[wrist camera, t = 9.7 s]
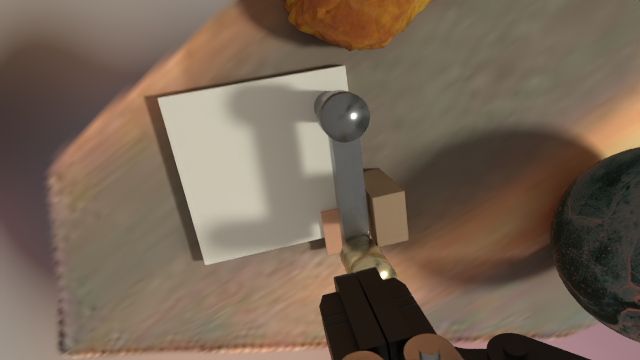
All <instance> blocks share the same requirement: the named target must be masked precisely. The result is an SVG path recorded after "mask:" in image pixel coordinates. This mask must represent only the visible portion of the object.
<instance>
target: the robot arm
mask: <svg viewBox="0 0 640 360" xmlns="http://www.w3.org/2000/svg"><path fill="white" fill-rule="evenodd" d="M334 284H335V289H336V292H334V293H330V294H326V295H323V296H322V300H321V303H320V306H319V307H320V312H321V316H322V321H323V326H324V330H325V335H326V340H327V344H328V348H329V351H330V355H331V359H332V360H590V359H587V358H584V357H582V356H579V355H576V354H573V353H571V352H568V351H565V350H562V349H560V348H557V347H554V346H551V345H548V344H546V343H543V342H540V341H537V340H534V339H532V338H529V337H526V336H523V335H520V334H515V333H504V334H499V335H496V336H495V337H493V338H492V339H491V340H490V341H489V342H488V344H487V349H463V348H458V347H454V346H453V345H452V344H451V343H450V342H449V341H448V340H447V339H445V338H444V337H442V336H439V335H437V334H436V332H435V331H434V329H433V327H432V326H431V324H430V323H429V321H428V320H427V318H426V316H425V315H424V313H423V312H422V310H421V309H420V307H419V305H418V304H417V302H416V301H415V299H414V298H413V296H412V295H411V293H410V291H409V290H408V288H407V286H406V285H405V284H404V283H402V282H401V281H399V280H398V279H396V278H394V277H393V278H389V279H385V280H383V279H382V277H381V275H380V273H379V272H378V270H377V268H376V267H372V268H368V269H364V270H360V271H356V272H355V273H354V272H352V273H348V274H344V275H340V276H336V277H334Z"/></svg>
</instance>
